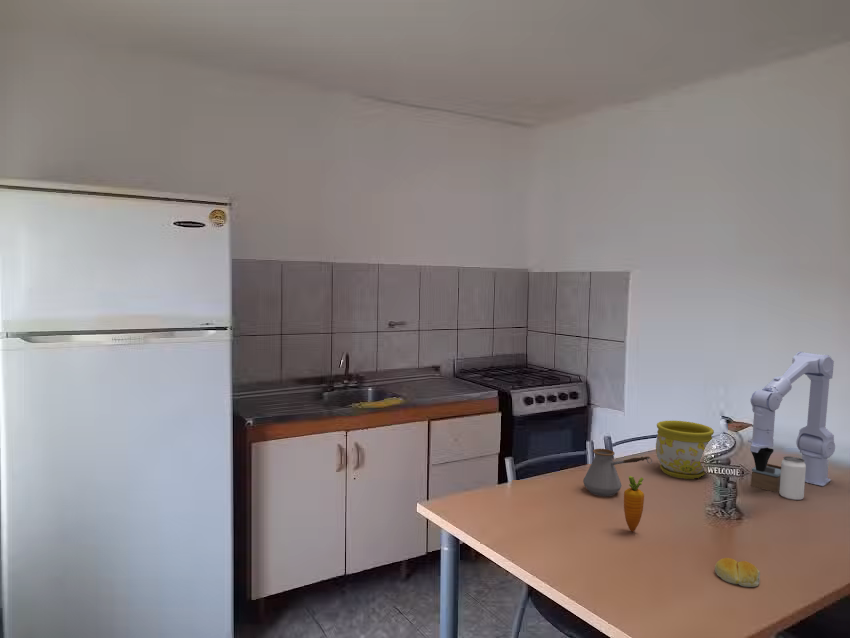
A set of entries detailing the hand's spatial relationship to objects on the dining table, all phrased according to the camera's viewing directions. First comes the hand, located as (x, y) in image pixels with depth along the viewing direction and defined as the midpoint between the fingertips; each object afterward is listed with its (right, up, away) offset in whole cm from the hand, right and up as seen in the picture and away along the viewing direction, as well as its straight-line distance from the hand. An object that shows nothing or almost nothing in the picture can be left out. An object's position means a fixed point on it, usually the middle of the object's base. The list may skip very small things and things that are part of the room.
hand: (760, 470), depth 189 cm
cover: (+6, -2, +5) cm, 8 cm away
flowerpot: (-18, -5, +17) cm, 25 cm away
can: (+8, -8, -3) cm, 11 cm away
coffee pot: (-48, -6, -7) cm, 49 cm away
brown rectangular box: (+8, -6, +8) cm, 13 cm away
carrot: (-52, -8, -33) cm, 62 cm away
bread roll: (-36, -10, -55) cm, 67 cm away
